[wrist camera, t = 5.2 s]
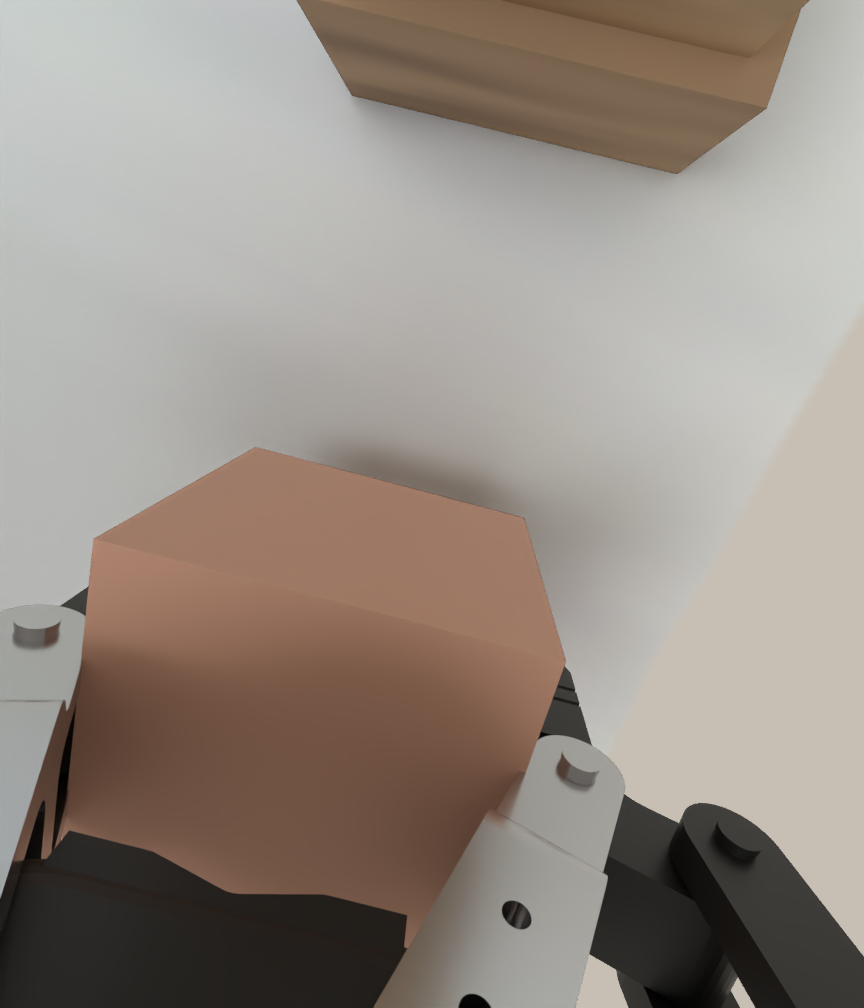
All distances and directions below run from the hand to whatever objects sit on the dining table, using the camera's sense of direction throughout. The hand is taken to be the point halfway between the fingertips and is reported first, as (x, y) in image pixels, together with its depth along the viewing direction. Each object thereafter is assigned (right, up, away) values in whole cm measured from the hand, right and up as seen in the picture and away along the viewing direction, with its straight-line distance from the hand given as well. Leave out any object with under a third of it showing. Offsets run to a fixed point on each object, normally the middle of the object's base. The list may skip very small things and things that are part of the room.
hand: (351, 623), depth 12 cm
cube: (0, 0, +1) cm, 1 cm away
